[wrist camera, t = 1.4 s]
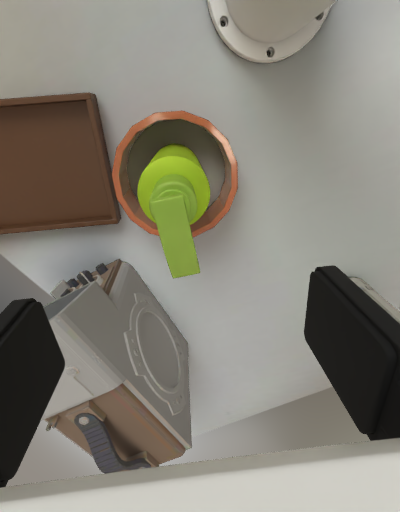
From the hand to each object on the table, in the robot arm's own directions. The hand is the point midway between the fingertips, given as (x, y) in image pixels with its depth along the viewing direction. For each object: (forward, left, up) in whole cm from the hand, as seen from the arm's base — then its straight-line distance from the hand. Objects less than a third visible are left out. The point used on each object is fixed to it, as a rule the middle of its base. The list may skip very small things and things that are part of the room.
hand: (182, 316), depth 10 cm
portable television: (+20, -11, -28) cm, 36 cm away
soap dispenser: (-1, 0, -28) cm, 28 cm away
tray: (-3, -17, -28) cm, 33 cm away
